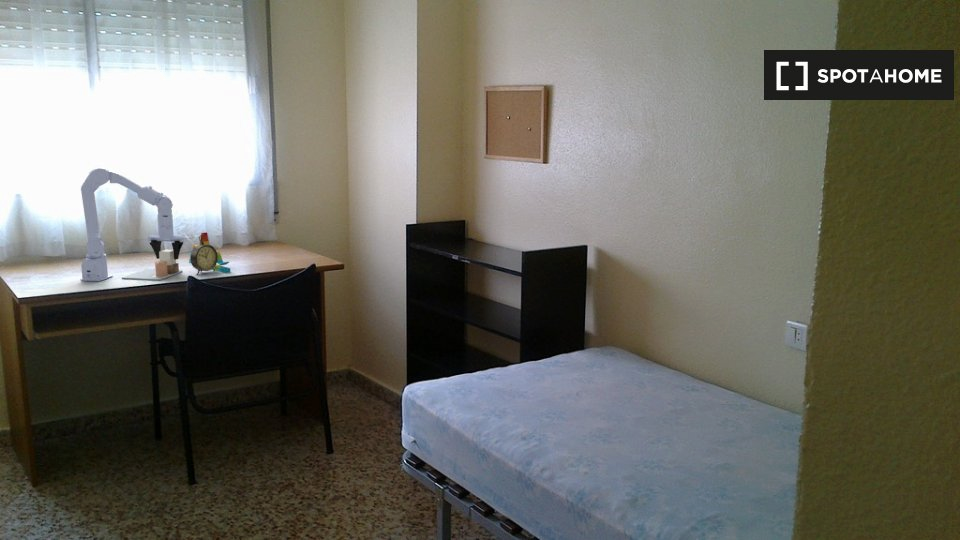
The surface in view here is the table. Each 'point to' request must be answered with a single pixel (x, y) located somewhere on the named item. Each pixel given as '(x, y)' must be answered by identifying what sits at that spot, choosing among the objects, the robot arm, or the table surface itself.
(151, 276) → the building board
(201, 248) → the alarm clock
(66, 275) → the table surface
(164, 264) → the terracotta round block
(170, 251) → the cream block
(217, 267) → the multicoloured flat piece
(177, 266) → the walnut base block
